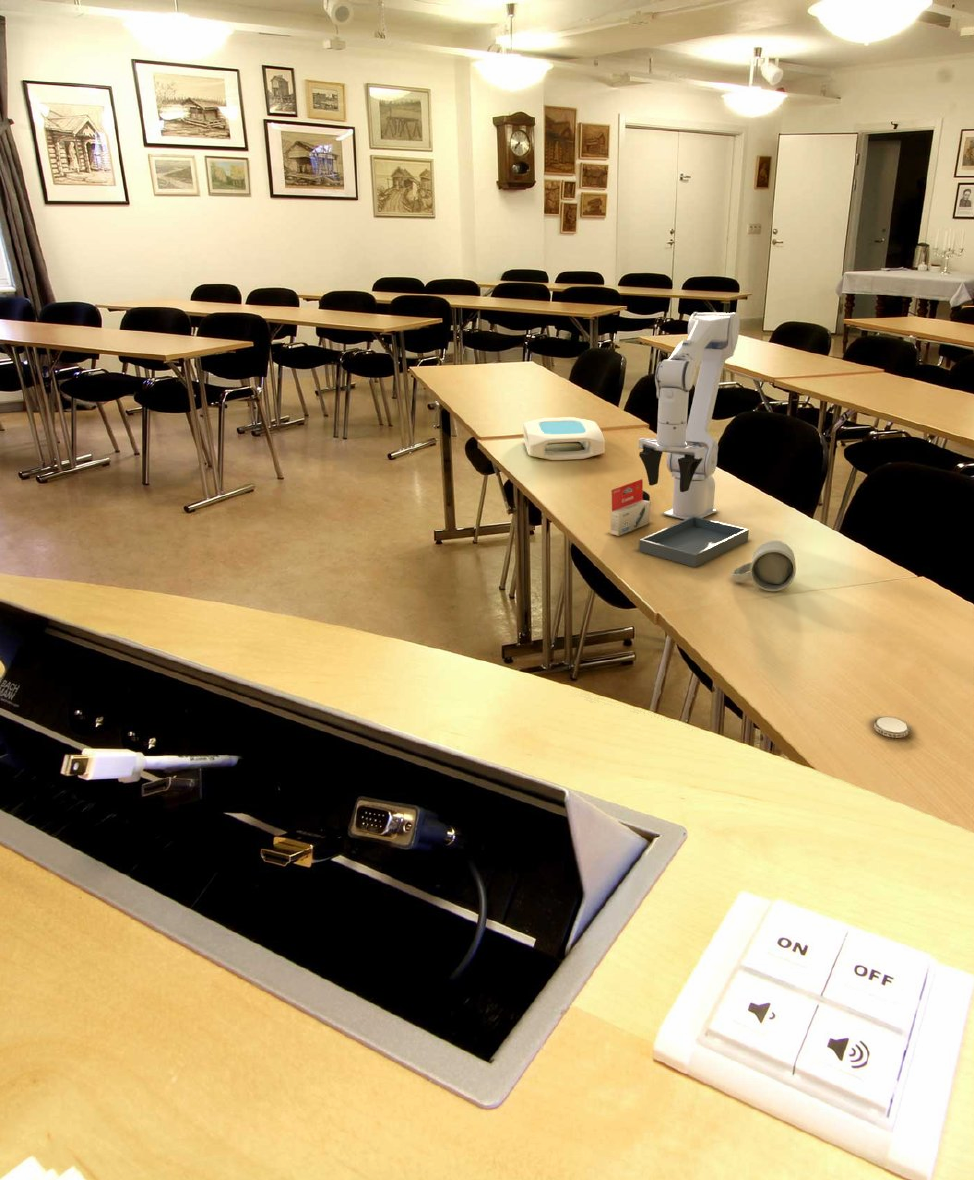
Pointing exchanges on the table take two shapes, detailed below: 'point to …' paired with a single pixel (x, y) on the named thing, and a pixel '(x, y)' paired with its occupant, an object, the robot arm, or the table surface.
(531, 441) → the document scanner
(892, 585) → the table surface
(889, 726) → the bottle cap
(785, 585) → the ceramic mug
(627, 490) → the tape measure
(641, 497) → the ink cartridge box
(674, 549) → the tray
